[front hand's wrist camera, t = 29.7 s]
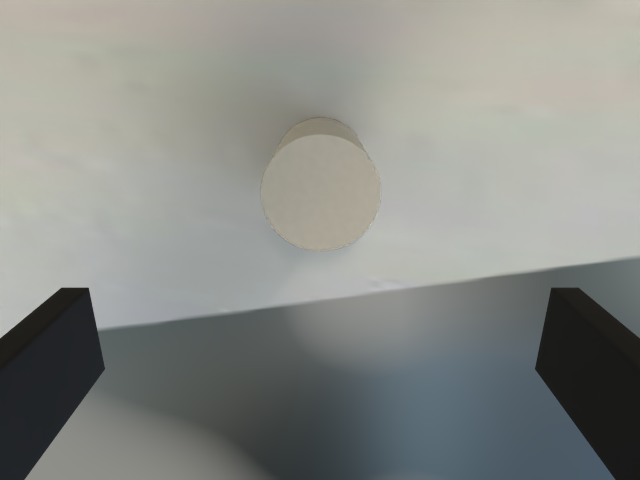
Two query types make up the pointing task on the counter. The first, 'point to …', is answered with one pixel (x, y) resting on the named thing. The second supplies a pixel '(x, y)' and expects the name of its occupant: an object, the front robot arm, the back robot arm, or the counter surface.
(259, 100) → the counter surface
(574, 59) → the counter surface
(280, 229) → the canister
